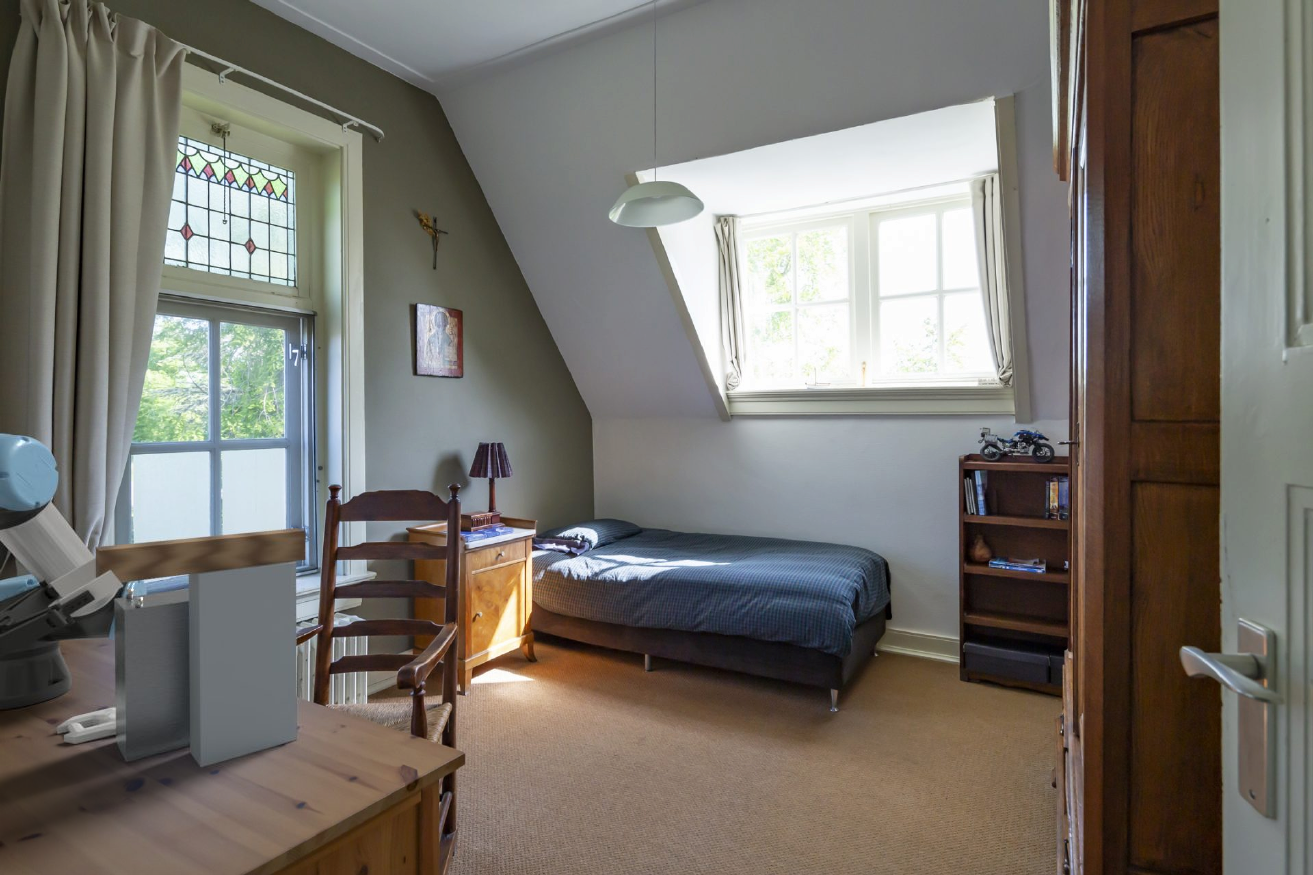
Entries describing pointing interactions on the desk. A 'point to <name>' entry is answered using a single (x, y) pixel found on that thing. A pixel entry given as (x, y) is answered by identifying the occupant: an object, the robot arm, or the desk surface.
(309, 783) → the desk surface
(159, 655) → the plate
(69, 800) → the desk surface
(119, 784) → the desk surface
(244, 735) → the stand
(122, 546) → the rail
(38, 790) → the desk surface
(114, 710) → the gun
